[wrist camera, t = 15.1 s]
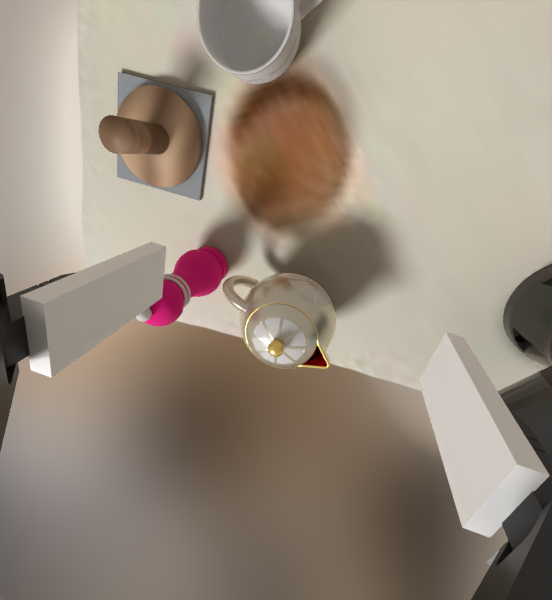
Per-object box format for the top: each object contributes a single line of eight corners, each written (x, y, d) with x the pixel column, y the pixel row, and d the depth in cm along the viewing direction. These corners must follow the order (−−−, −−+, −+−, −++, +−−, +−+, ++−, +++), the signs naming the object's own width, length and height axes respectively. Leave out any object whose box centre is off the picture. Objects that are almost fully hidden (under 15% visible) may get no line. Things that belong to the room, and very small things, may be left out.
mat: (213, 96, 43) (211, 95, 43) (201, 199, 49) (199, 200, 49) (120, 72, 45) (117, 71, 44) (119, 176, 51) (117, 176, 50)
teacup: (229, 95, 43) (204, 83, 36) (214, -8, 39) (183, -46, 32) (334, 76, 39) (330, 58, 32) (330, -39, 35) (324, -89, 28)
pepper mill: (233, 248, 51) (169, 296, 34) (228, 289, 55) (167, 352, 37) (191, 238, 52) (108, 280, 35) (189, 279, 56) (111, 335, 38)
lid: (208, 100, 43) (169, 84, 34) (196, 196, 49) (160, 205, 40) (121, 76, 44) (61, 55, 35) (119, 173, 50) (67, 177, 41)
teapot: (358, 292, 50) (361, 347, 35) (311, 350, 56) (297, 418, 41) (261, 230, 49) (222, 259, 35) (224, 296, 55) (178, 345, 41)
